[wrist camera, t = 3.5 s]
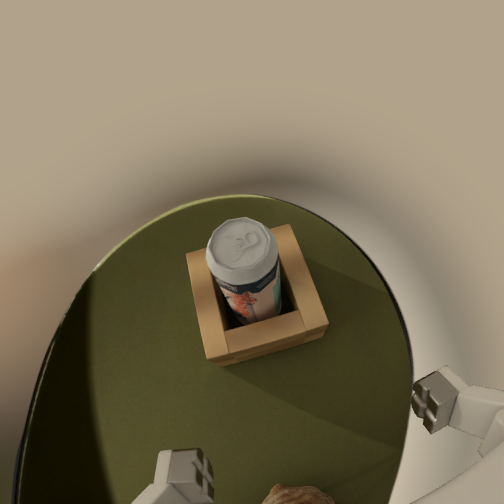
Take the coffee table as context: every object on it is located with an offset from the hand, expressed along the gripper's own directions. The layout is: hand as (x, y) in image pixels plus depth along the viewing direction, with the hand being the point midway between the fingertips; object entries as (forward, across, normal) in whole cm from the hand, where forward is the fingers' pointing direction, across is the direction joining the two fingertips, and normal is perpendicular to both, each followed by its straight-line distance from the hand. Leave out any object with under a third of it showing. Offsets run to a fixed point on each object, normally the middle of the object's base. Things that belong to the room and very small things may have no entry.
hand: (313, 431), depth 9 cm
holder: (+20, +1, +4) cm, 20 cm away
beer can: (+20, +1, +4) cm, 20 cm away
